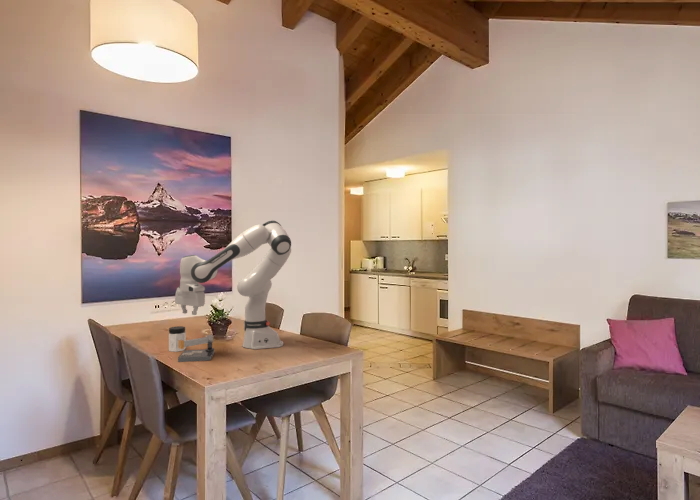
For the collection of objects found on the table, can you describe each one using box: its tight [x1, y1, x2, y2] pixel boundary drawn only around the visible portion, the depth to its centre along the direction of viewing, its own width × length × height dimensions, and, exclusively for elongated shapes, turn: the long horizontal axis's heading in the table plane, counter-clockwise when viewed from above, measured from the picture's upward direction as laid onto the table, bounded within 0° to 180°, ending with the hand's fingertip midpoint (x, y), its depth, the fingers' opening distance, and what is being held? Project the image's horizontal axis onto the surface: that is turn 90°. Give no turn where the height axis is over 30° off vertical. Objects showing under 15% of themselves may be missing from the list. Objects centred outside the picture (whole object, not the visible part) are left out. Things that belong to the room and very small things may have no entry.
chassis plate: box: [177, 343, 215, 363], centre depth 221 cm, size 15×15×6 cm
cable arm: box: [178, 334, 214, 349], centre depth 222 cm, size 17×3×4 cm, turn 135°
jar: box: [168, 325, 187, 353], centre depth 237 cm, size 9×8×12 cm
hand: (189, 314), depth 224 cm, fingers open, 6 cm apart
